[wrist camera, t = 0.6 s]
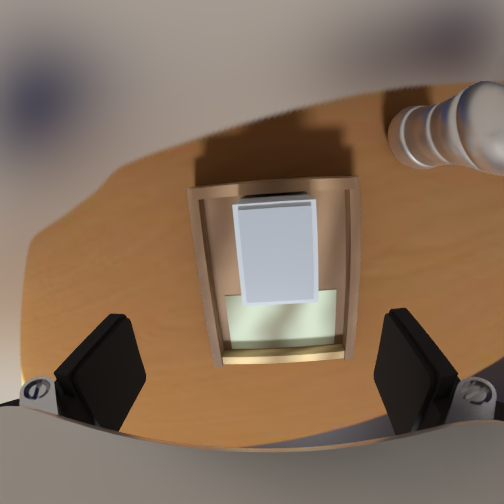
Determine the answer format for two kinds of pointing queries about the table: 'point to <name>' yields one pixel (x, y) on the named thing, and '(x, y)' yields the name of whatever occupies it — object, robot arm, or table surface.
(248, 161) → the table surface
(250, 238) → the grey block
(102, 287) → the table surface
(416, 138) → the plastic bottle
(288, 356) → the bay
